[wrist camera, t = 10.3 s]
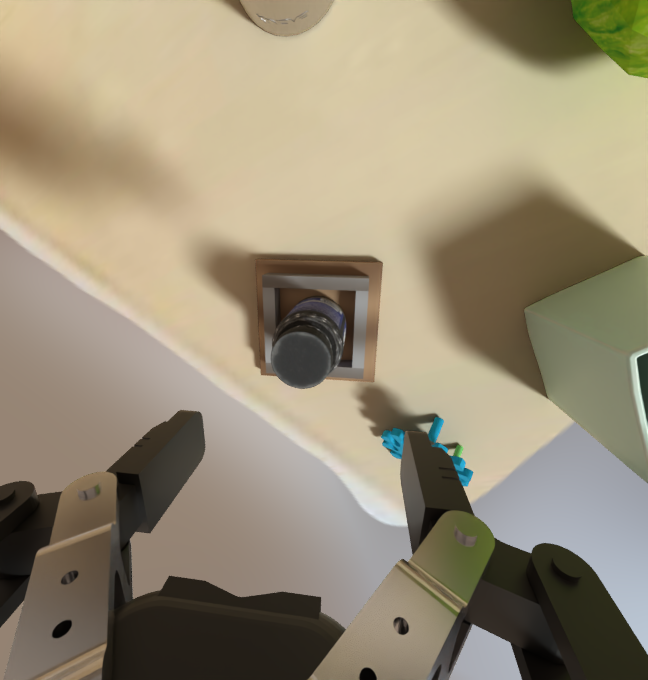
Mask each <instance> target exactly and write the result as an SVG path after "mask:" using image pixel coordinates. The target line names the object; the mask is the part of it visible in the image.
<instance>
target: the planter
mask: <svg viewBox="0 0 648 680" xmlns="http://www.w3.org/2000/svg"><path fill="white" fill-rule="evenodd" d="M524 313H525V318H526V324H527V329H528V334H529V337H530V341H531V344H532V347H533V351H534V354H535V357H536V360H537V363H538V366H539V369H540V372H541V375H542V379H543V383H544V386H545V390H546V394H547V397H548V398H549V400H551V401H552V402H553V403H554V404H555V405H556V406H558V407H559V408H560V409H561V410H562V411H563V412H565V413H566V414H567V415H568V416H569V417H570V418H572V419H573V420H574V421H575V422H576V423H578V424H579V425H580V426H581V427H582V428H583V429H584V430H586V431H587V432H588V433H589V434H590V435H591V436H593V437H594V438H595V439H596V440H597V441H598V442H600V443H601V444H602V445H603V446H604V447H605V448H607V449H608V450H609V451H610V452H611V453H612V454H614V455H615V456H616V457H617V458H618V459H619V460H621V461H622V462H623V463H624V464H625V465H626V466H628V467H629V468H630V469H631V470H632V471H633V472H635V473H636V474H637V475H638V476H640V477H641V478H642V479H643V480H644V481H646V482H647V483H648V256H639V257H636V258H634V259H632V260H630V261H628V262H625V263H623V264H621V265H619V266H616V267H614V268H612V269H610V270H607V271H605V272H603V273H601V274H598V275H596V276H594V277H591V278H589V279H587V280H584V281H582V282H580V283H578V284H575V285H573V286H571V287H568V288H566V289H564V290H562V291H559V292H557V293H555V294H552V295H550V296H548V297H546V298H544V299H542V300H540V301H538V302H536V303H534V304H532V305H530V306H528V307H526V308H525V310H524Z"/></svg>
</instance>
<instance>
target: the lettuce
mask: <svg viewBox="0 0 648 680" xmlns="http://www.w3.org/2000/svg"><path fill="white" fill-rule="evenodd" d="M571 4H572V12H573V18H574V20H575V21H576V22H577V23H578V24H579V25H580V26H581V27H582V28H583V30H584V31H585V32H586V33H587V34H588V35H589V36H590V37H591V38H592V39H593V41H594V42H595V43H596V44H597V45H598V46H599V47H600V48H601V49H602V50H603V51H604V52H605V53H606V54H607V55H608V56H609V57H610V58H611V59H613V60H614V61H615V62H616V63H617V64H618V65H619V66H620V67H621V68H622V69H623V70H624V71H625V72H626V73H627V74H629V75H634V76H639V77H644V78H648V0H571Z"/></svg>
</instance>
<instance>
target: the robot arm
mask: <svg viewBox="0 0 648 680" xmlns="http://www.w3.org/2000/svg"><path fill="white" fill-rule="evenodd" d="M239 1H240V3H241V5H242V6H243V8H244V9H245V11H246V13H247V14H248V16H249V17H250V18H251V19H252V20H253V21H254V22H255V24H256V25H258V26H259V27H261V28H262V29H264V30H265V31H267V32H269V33H272V34H275V35H279V36H292V35H298V34H300V33H303V32H305V31H307V30H309V29H310V28H312V27H313V26H314V25H315V24H317V23H318V22H319V21H320V20H321V19H322V18H323V16H324V15H325V14H326V13H327V11H328V10H329V8H330V6H331V4H332V3H333V1H334V0H239ZM204 452H205V439H204V429H203V419H202V415H201V413H200V412H197V411H186V410H180V411H178V412H177V413H176V414H175V415H174V416H173V417H172V418H171V419H170V420H169V421H168V422H163V423H161V424H159V425H158V426H156V427H154V428H152V429H151V430H150V431H149V432H148V433H147V434H146V435H144V436H143V437H142V439H140V440H139V441H138V442H137V443H136V444H135V446H134V447H132V448H131V449H129V450H128V451H127V452H126V453H125V454H124V455H123V456H122V457H121V458H120V459H119V460H118V461H116V462H115V463H114V464H113V465H112V466H111V467H110V468H109V469H108V470H107V471H106V472H96V473H92V474H88V475H86V476H83V477H81V478H79V479H77V480H76V481H74V482H72V483H71V484H70V485H69V486H67V487H66V488H65V490H64V491H62V492H55V493H47V494H40V495H37V493H36V490H35V487H34V485H33V484H32V483H30V482H27V481H19V482H13V483H9V484H5V485H3V486H0V627H1V626H2V625H3V624H4V623H5V622H6V620H7V619H8V618H9V617H10V616H11V614H12V613H13V612H14V611H15V610H16V609H17V607H18V606H19V605H20V604H21V603H22V602H23V601H24V603H23V607H22V611H21V614H20V618H19V622H18V626H17V630H16V633H15V638H14V641H13V645H12V649H11V653H10V657H9V661H8V664H7V668H6V672H5V676H4V680H449V677H450V675H451V673H452V671H453V668H454V666H455V664H456V662H457V659H458V657H459V655H460V652H461V650H462V648H463V646H464V643H465V641H466V639H467V636H468V634H469V632H470V630H471V627H472V625H473V624H474V625H476V626H478V627H480V628H482V629H484V630H486V631H488V632H490V633H493V634H494V635H496V636H499V637H500V638H502V639H505V640H506V641H509V642H510V643H511V646H512V649H513V652H514V655H515V658H516V661H517V665H518V668H519V671H520V674H521V677H522V680H648V655H647V653H646V651H645V650H644V648H643V647H642V645H641V644H640V642H639V640H638V639H637V637H636V636H635V634H634V633H633V631H632V629H631V628H630V626H629V624H628V623H627V621H626V620H625V618H624V617H623V615H622V613H621V612H620V610H619V609H618V607H617V606H616V604H615V602H614V601H613V599H612V598H611V596H610V594H609V593H608V591H607V590H606V588H605V587H604V585H603V584H602V582H601V580H600V579H599V577H598V576H597V574H596V573H595V572H594V570H593V569H592V568H591V567H590V566H589V565H588V564H587V563H586V562H585V561H584V560H583V559H582V558H580V557H579V556H578V555H576V554H574V553H573V552H571V551H569V550H568V549H565V548H563V547H561V546H558V545H554V544H548V543H542V544H539V545H536V546H535V547H534V548H533V550H532V553H528V552H526V551H523V550H520V549H518V548H515V547H512V546H510V545H507V544H505V543H503V542H500V541H499V540H497V539H496V538H494V536H493V534H492V532H491V530H490V529H489V528H488V527H487V525H486V524H485V523H484V522H482V521H481V520H480V519H478V518H477V517H475V515H474V513H473V511H472V508H471V506H470V503H469V501H468V498H467V496H466V493H465V491H464V488H463V486H462V483H461V481H460V480H459V476H458V473H457V471H456V468H455V466H454V463H453V461H452V458H451V457H450V456H449V455H448V454H447V453H446V452H445V451H444V450H443V449H442V448H439V447H432V446H431V443H430V440H429V437H428V434H427V433H426V432H417V431H406V432H405V437H404V444H403V452H402V460H401V471H400V475H401V486H402V492H403V498H404V504H405V510H406V517H407V523H408V529H409V535H410V541H411V548H412V554H413V556H412V557H411V559H410V560H409V561H408V562H407V561H405V560H404V559H401V560H400V561H398V563H397V564H396V565H395V566H394V567H393V569H392V570H391V571H390V572H389V574H388V575H387V576H386V578H385V579H384V580H383V582H382V583H381V584H380V586H379V587H378V588H377V590H376V591H375V592H374V594H373V595H372V596H371V598H370V599H369V600H368V601H367V603H366V604H365V605H364V607H363V608H362V609H361V611H360V612H359V613H358V615H357V616H356V617H355V619H354V620H353V621H352V623H351V624H350V625H349V627H348V628H347V629H345V628H344V627H342V626H341V625H340V624H339V623H338V622H337V621H335V620H334V619H332V618H331V617H329V616H327V615H325V614H323V613H321V597H316V596H308V595H302V594H295V593H287V592H278V593H270V594H264V595H256V596H249V597H237V596H235V595H233V594H231V593H229V592H227V591H225V590H223V589H220V588H218V587H217V586H214V585H212V584H210V583H208V582H206V581H202V580H195V579H188V578H181V577H174V576H169V577H168V579H167V581H166V582H165V584H164V586H163V588H162V589H161V590H160V591H155V592H151V593H148V594H145V595H143V596H140V597H137V598H135V599H133V589H132V555H131V542H130V538H131V537H132V535H133V534H134V533H135V532H144V533H151V531H152V530H153V528H154V527H155V526H156V524H157V523H158V521H159V520H160V518H161V517H162V515H163V514H164V513H165V511H166V510H167V508H168V507H169V505H170V504H171V503H172V501H173V500H174V498H175V497H176V496H177V494H178V493H179V491H180V490H181V489H182V487H183V486H184V484H185V483H186V482H187V480H188V479H189V477H190V476H191V474H192V473H193V472H194V470H195V469H196V467H197V466H198V464H199V463H200V462H201V460H202V458H203V455H204Z"/></svg>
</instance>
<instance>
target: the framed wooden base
mask: <svg viewBox="0 0 648 680" xmlns="http://www.w3.org/2000/svg"><path fill="white" fill-rule="evenodd" d="M382 266H383V263H382V262H357V261H319V260H281V259H256V281H257V302H258V324H259V345H260V366H261V375H269V376H277V375H276V374H275V372H274V371H273V368H272V365H271V351H272V338H273V336H274V332H275V330H276V328H277V326H278V325H279V324H280V322H281V321H282V320H283V319H284V318H285V317H286V316H287V315H288V314H289V312H290V311H291V310H292V309H293V308H294V307H295V306H296V305H297V304H298V303H299V302H300V301H301V300H303V299H305V298H307V297H311V296H324V297H327V298H329V299H331V300H333V301H335V302H336V303H337V304H338V305H339V306H340V307H341V309H342V310H343V312H344V315H345V317H346V324H347V326H346V334H345V341H344V349H343V355H342V358H341V361H340V362H339V364H338V366H337V367H336V368H335V369H334V370H333V371H332V372H331V373H330V374H328V376H327V377H326V378H325V379H332V380H348V381H363V382H374V376H375V362H376V349H377V335H378V321H379V308H380V294H381V280H382Z"/></svg>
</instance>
